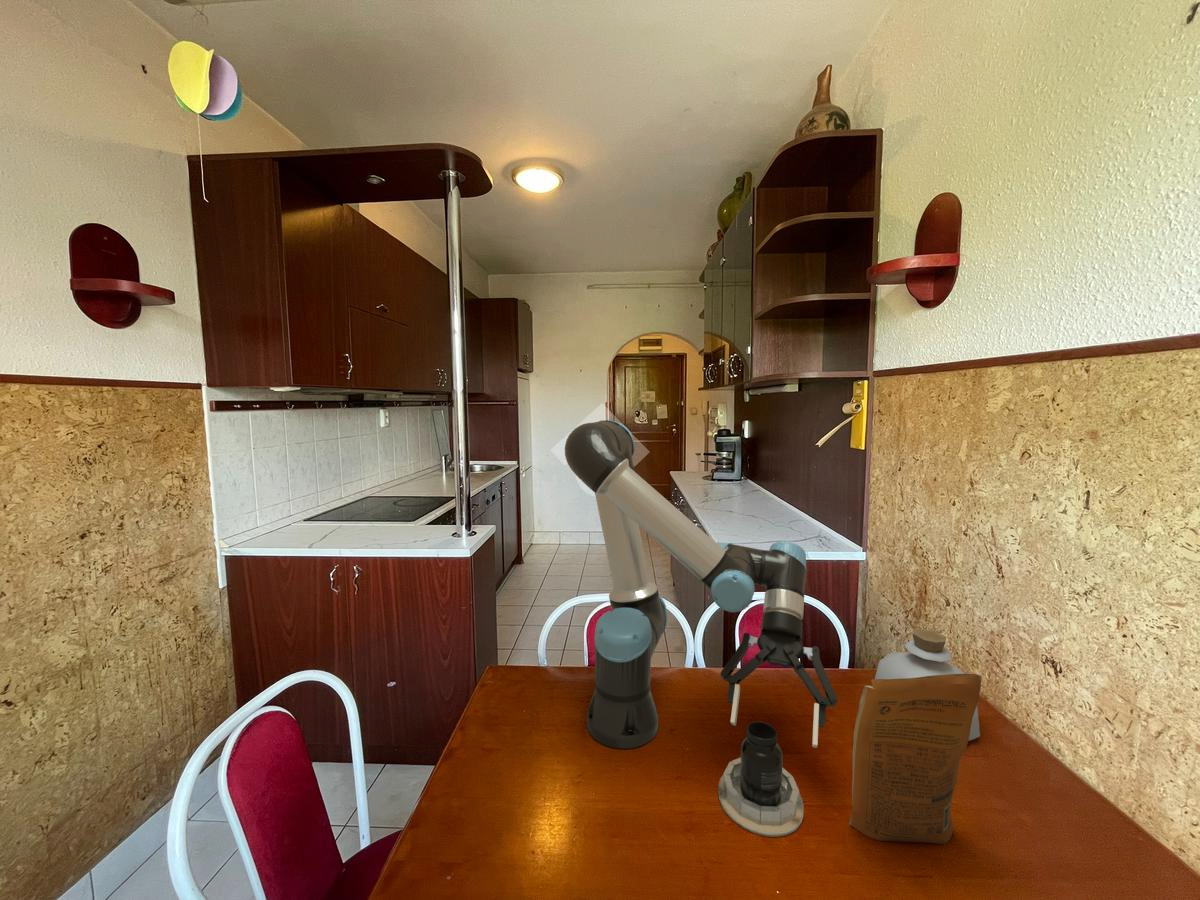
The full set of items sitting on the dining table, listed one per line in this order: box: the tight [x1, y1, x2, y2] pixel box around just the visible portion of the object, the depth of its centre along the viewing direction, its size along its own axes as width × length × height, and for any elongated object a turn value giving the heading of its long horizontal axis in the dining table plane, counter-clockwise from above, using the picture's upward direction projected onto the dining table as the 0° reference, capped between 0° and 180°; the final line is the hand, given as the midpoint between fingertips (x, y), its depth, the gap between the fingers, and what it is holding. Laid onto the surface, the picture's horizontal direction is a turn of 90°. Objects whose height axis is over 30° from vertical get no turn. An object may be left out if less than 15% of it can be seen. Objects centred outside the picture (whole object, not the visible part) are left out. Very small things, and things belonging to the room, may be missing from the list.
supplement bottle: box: [740, 721, 784, 807], centre depth 84 cm, size 7×7×12 cm
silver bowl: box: [717, 756, 805, 838], centre depth 85 cm, size 14×14×4 cm
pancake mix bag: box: [848, 673, 983, 845], centre depth 77 cm, size 7×19×28 cm, turn 87°
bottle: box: [874, 628, 981, 742], centre depth 106 cm, size 20×20×19 cm
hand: (772, 734), depth 86 cm, fingers open, 13 cm apart
